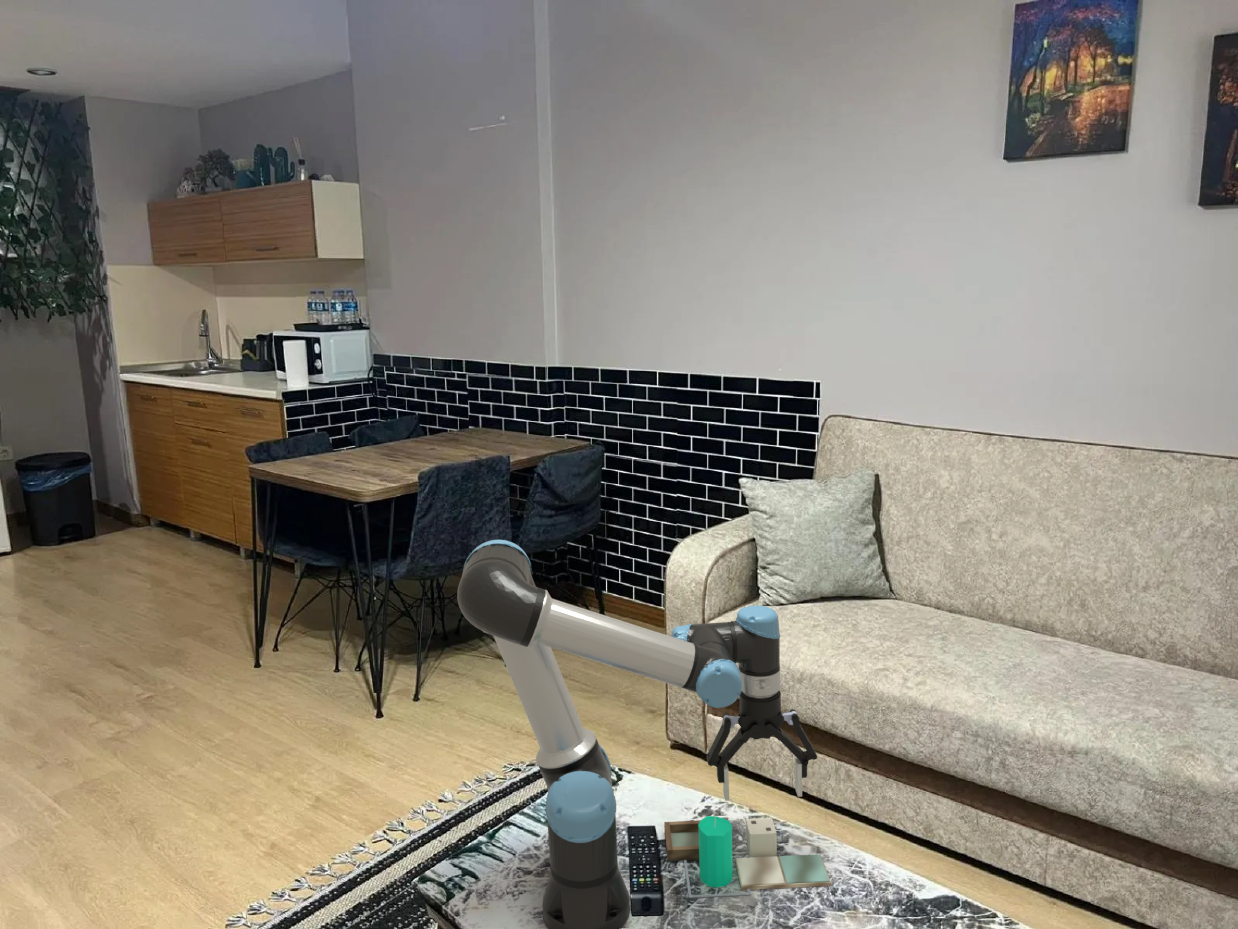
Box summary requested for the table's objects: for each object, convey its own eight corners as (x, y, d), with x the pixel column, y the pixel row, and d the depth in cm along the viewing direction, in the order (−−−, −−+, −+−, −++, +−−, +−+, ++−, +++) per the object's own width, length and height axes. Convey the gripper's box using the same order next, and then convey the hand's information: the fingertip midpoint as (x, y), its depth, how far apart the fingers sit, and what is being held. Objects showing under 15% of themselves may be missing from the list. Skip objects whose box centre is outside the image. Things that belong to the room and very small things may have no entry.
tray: (667, 861, 172) (667, 850, 171) (664, 833, 181) (664, 822, 180) (720, 859, 172) (720, 847, 172) (715, 830, 181) (715, 819, 180)
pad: (688, 898, 162) (688, 897, 162) (683, 859, 172) (683, 858, 172) (751, 895, 162) (751, 894, 162) (741, 856, 173) (741, 855, 173)
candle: (693, 872, 169) (692, 813, 166) (721, 863, 171) (720, 804, 169) (710, 891, 163) (709, 831, 161) (739, 881, 166) (738, 821, 163)
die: (750, 858, 172) (749, 834, 171) (746, 842, 177) (745, 818, 176) (776, 857, 172) (776, 833, 171) (772, 841, 177) (771, 817, 176)
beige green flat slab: (741, 890, 163) (741, 885, 163) (735, 862, 171) (734, 857, 171) (830, 886, 163) (831, 881, 163) (820, 858, 171) (820, 853, 171)
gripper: (693, 703, 164) (698, 810, 168) (832, 695, 164) (833, 802, 169) (689, 685, 171) (694, 787, 176) (822, 677, 172) (824, 780, 176)
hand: (762, 795), depth 172 cm, fingers open, 13 cm apart
